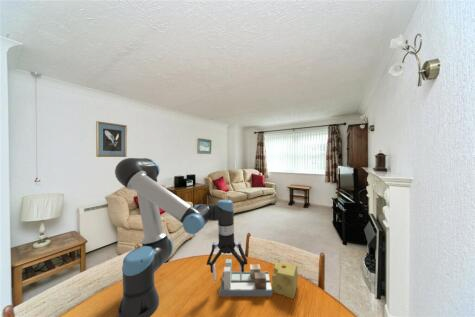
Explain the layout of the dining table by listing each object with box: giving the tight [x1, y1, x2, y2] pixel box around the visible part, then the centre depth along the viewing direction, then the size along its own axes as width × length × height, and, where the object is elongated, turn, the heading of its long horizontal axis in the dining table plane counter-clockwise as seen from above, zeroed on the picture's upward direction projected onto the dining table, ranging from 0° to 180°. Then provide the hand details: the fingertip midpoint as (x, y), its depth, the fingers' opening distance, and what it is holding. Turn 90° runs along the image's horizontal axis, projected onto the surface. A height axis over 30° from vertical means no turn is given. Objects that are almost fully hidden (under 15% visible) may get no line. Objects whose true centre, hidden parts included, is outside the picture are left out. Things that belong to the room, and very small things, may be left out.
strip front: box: [223, 266, 272, 289], centre depth 84 cm, size 22×5×9 cm, turn 88°
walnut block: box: [255, 271, 266, 289], centre depth 84 cm, size 5×4×5 cm
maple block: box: [249, 263, 261, 280], centre depth 91 cm, size 5×4×5 cm
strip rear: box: [224, 258, 271, 281], centre depth 91 cm, size 22×5×9 cm, turn 88°
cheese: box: [271, 260, 299, 299], centre depth 85 cm, size 10×11×10 cm
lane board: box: [218, 270, 273, 297], centre depth 88 cm, size 24×14×3 cm, turn 88°
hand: (227, 278), depth 85 cm, fingers open, 12 cm apart
